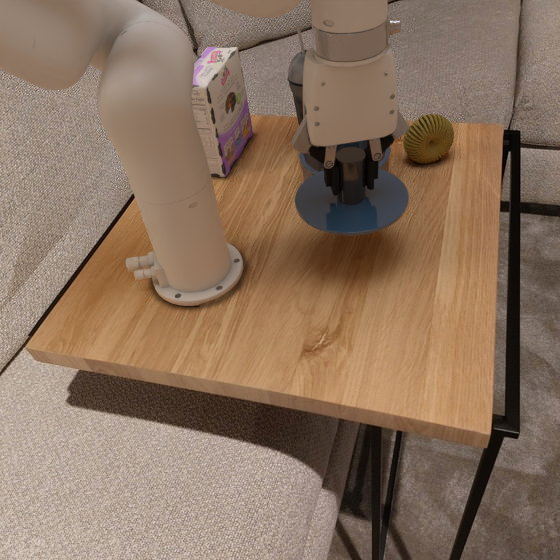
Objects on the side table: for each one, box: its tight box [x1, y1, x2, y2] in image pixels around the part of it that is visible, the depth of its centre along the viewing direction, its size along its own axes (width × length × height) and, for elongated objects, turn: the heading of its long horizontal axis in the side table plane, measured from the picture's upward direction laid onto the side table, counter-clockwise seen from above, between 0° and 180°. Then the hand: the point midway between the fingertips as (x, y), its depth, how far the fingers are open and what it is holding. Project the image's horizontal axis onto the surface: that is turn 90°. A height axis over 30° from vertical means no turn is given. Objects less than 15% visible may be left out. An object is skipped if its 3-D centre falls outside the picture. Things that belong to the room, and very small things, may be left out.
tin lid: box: [294, 147, 410, 237], centre depth 72 cm, size 14×14×7 cm
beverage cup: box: [287, 22, 310, 140], centre depth 97 cm, size 7×7×20 cm
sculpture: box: [402, 113, 455, 164], centre depth 92 cm, size 8×4×8 cm, turn 101°
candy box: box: [192, 46, 254, 178], centre depth 97 cm, size 14×6×16 cm, turn 162°
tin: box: [298, 140, 392, 184], centre depth 90 cm, size 13×13×6 cm
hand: (351, 185), depth 72 cm, fingers closed on tin lid, 3 cm apart
